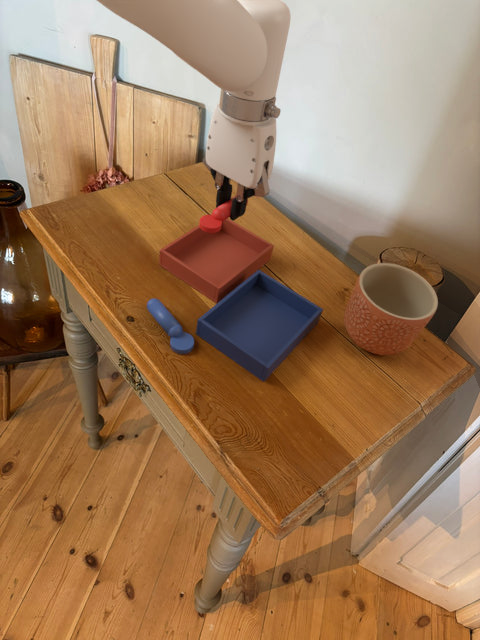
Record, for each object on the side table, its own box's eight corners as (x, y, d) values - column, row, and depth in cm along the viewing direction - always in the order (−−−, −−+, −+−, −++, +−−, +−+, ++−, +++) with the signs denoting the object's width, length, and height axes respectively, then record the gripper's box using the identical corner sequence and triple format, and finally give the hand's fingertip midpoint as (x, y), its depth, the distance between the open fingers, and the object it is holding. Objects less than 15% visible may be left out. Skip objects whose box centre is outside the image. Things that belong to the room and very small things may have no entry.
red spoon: (235, 199, 81) (237, 187, 79) (252, 208, 80) (254, 196, 78) (194, 225, 74) (195, 213, 73) (211, 236, 73) (213, 223, 71)
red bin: (158, 265, 81) (159, 249, 79) (216, 227, 91) (218, 212, 89) (216, 303, 77) (219, 288, 75) (270, 259, 87) (274, 245, 84)
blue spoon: (140, 310, 74) (140, 300, 72) (159, 302, 76) (160, 291, 74) (178, 357, 69) (179, 347, 67) (198, 348, 70) (199, 338, 69)
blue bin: (195, 334, 72) (197, 319, 70) (255, 283, 82) (258, 269, 79) (263, 382, 68) (268, 368, 65) (317, 323, 78) (323, 309, 75)
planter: (374, 377, 72) (403, 332, 64) (321, 324, 78) (342, 276, 70) (423, 346, 78) (455, 302, 70) (370, 299, 84) (394, 253, 76)
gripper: (308, 117, 64) (280, 225, 77) (218, 76, 69) (207, 184, 82) (279, 133, 59) (254, 245, 73) (185, 87, 64) (178, 200, 78)
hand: (229, 211), depth 78 cm, fingers closed on red spoon, 2 cm apart
